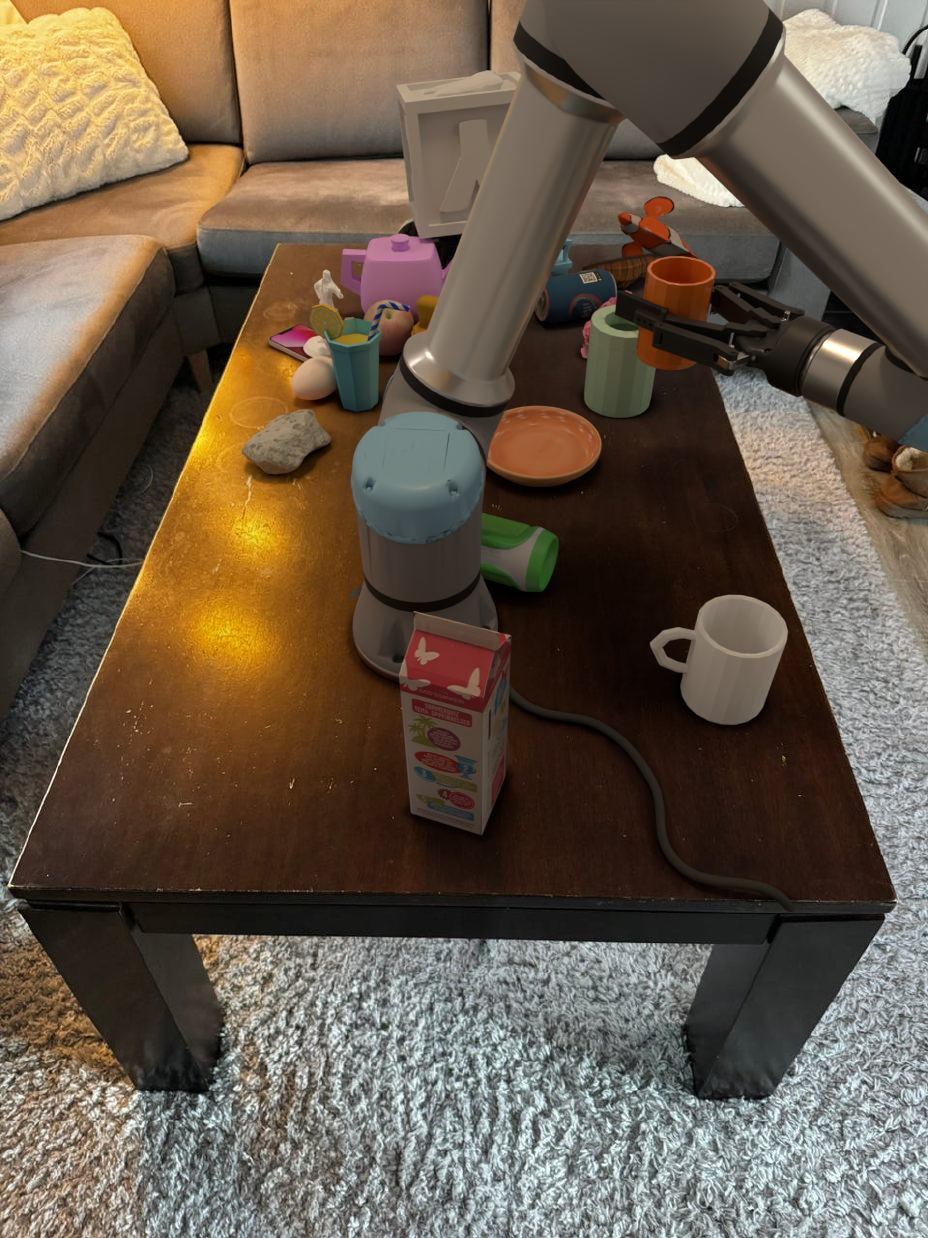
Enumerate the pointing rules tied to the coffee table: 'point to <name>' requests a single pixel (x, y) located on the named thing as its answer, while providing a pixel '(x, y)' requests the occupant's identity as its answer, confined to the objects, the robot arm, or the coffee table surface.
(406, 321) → the apple
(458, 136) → the decorative block
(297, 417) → the decorative stone
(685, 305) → the orange cup
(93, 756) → the coffee table surface
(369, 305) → the teapot
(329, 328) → the cup
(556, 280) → the soda can
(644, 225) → the fish
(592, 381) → the green jar
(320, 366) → the egg
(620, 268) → the croissant
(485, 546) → the speaker
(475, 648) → the juice carton
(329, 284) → the figurine
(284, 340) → the smartphone
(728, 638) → the mug
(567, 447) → the saucer
